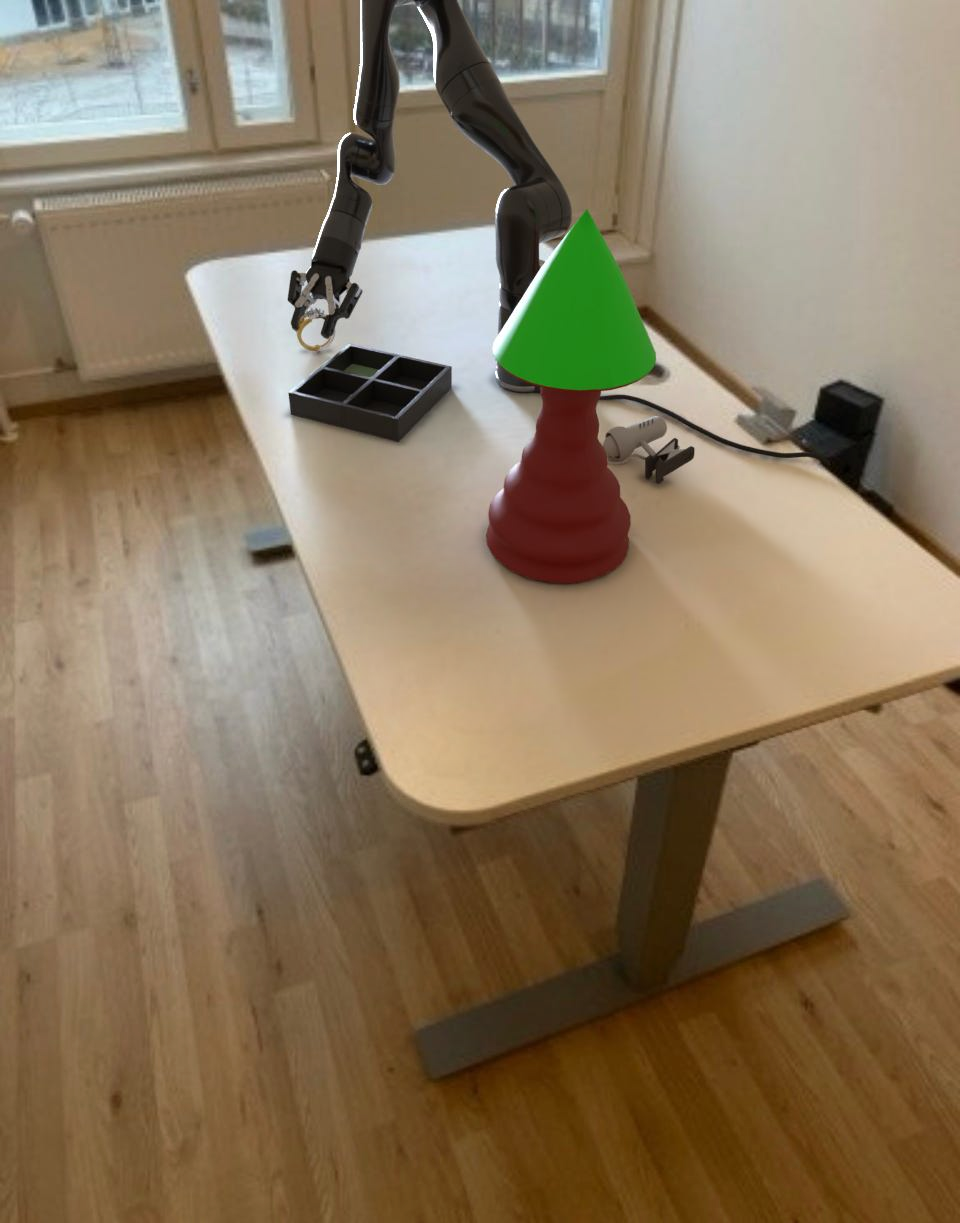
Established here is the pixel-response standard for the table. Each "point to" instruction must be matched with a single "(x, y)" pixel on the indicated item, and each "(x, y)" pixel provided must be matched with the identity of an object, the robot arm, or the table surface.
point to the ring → (301, 324)
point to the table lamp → (568, 414)
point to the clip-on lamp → (647, 447)
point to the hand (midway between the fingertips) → (310, 333)
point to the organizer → (371, 391)
